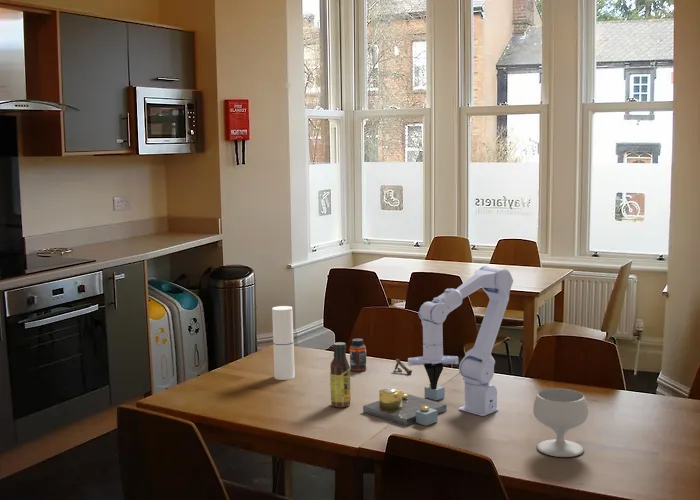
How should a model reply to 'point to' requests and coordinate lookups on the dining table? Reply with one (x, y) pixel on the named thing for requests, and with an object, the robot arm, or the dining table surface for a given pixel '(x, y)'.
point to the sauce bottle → (340, 377)
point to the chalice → (560, 419)
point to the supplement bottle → (357, 355)
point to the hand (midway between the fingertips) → (433, 388)
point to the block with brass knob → (426, 415)
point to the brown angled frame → (402, 367)
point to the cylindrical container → (283, 342)
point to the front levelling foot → (434, 392)
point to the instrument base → (404, 410)
